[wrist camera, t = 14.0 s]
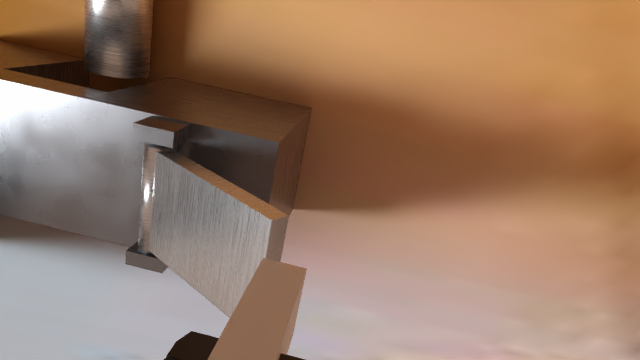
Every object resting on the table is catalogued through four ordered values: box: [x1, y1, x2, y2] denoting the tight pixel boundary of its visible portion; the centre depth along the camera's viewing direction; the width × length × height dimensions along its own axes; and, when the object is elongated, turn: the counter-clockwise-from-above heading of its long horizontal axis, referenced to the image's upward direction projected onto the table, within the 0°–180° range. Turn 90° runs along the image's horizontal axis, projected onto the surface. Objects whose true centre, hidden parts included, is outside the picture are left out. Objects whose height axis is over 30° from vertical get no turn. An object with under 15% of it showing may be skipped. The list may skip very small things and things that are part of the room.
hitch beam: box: [0, 40, 311, 273], centre depth 25 cm, size 22×7×11 cm, turn 79°
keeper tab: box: [138, 142, 289, 318], centre depth 19 cm, size 1×5×8 cm
